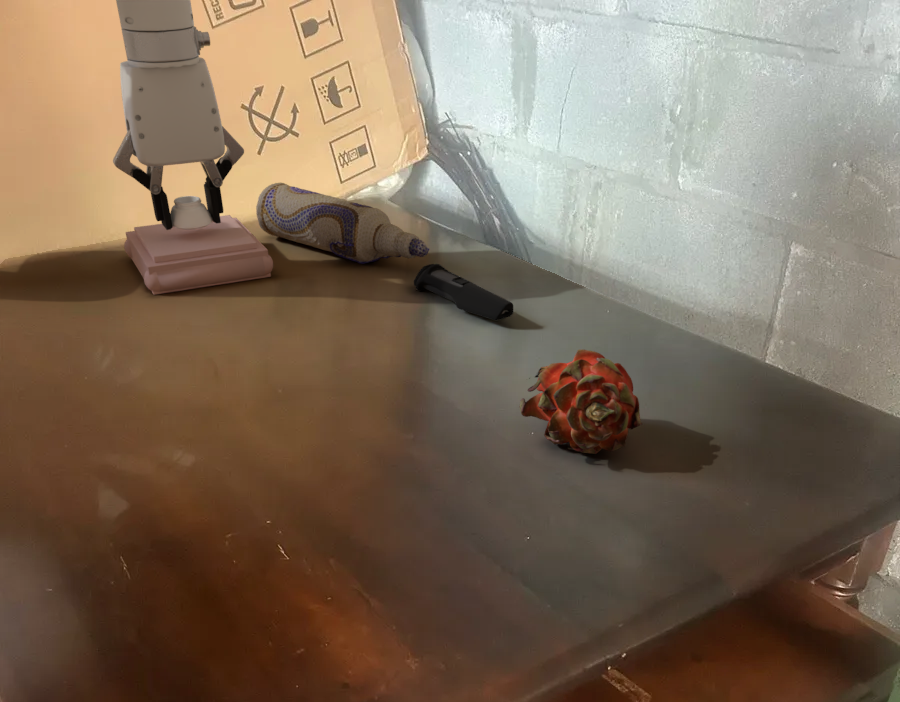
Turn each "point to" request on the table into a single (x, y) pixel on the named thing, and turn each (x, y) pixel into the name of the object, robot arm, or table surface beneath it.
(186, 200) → the white jar
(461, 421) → the table surface
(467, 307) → the electric trimmer
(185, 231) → the decorative box
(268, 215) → the decorative bottle
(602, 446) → the dragon fruit
